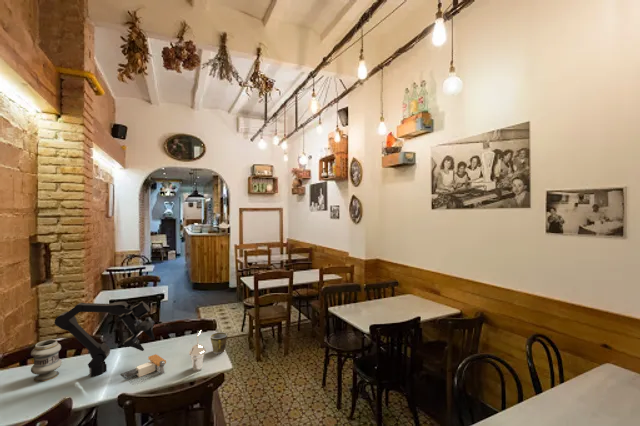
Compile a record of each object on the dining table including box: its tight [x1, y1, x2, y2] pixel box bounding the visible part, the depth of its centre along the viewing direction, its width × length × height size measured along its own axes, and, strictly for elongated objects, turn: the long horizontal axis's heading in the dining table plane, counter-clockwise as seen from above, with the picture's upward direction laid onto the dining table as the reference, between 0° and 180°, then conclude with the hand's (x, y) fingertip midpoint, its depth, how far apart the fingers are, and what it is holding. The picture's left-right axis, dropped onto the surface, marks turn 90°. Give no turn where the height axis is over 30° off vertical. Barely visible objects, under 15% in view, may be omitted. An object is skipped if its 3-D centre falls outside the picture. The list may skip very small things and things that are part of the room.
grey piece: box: [120, 364, 167, 385], centre depth 160 cm, size 16×18×5 cm
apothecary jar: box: [30, 339, 63, 383], centre depth 159 cm, size 12×12×18 cm
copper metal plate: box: [147, 354, 167, 367], centre depth 164 cm, size 4×13×2 cm, turn 51°
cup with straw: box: [188, 329, 207, 373], centre depth 166 cm, size 8×9×20 cm
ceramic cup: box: [209, 331, 228, 355], centre depth 186 cm, size 13×10×10 cm
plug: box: [125, 361, 156, 378], centre depth 159 cm, size 13×4×4 cm, turn 141°
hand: (148, 344), depth 168 cm, fingers open, 9 cm apart
